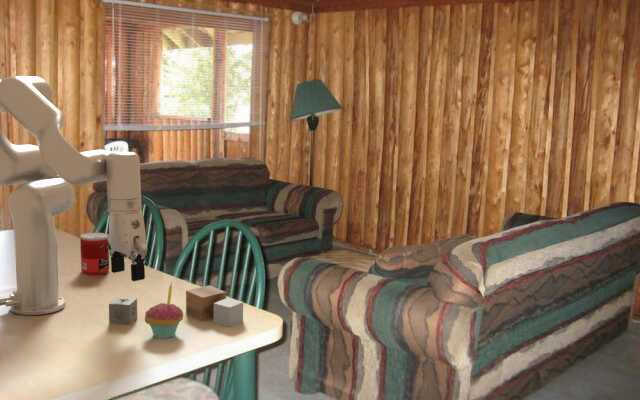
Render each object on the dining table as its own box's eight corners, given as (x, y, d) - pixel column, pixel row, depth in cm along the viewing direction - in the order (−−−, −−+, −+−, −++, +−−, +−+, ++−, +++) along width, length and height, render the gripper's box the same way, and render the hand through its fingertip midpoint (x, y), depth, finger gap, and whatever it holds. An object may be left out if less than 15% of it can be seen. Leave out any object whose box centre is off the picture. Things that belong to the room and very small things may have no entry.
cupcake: (167, 325, 164) (167, 276, 162) (191, 334, 158) (191, 284, 156) (137, 335, 157) (136, 284, 155) (160, 345, 152) (160, 292, 150)
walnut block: (202, 321, 168) (202, 297, 166) (186, 313, 172) (186, 290, 171) (225, 315, 172) (226, 292, 171) (209, 307, 177) (209, 285, 176)
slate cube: (229, 327, 164) (230, 307, 163) (213, 323, 167) (213, 303, 166) (242, 321, 168) (243, 302, 167) (226, 317, 171) (227, 297, 170)
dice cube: (137, 318, 168) (137, 298, 167) (129, 325, 163) (129, 305, 162) (117, 316, 168) (116, 297, 168) (109, 324, 164) (108, 303, 163)
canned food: (104, 276, 201) (103, 239, 199) (77, 274, 201) (76, 237, 199) (113, 268, 208) (112, 233, 206) (86, 267, 208) (85, 232, 206)
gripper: (158, 208, 159) (160, 280, 161) (121, 198, 171) (124, 266, 174) (128, 212, 154) (131, 286, 156) (92, 202, 166) (96, 271, 169)
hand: (128, 275), depth 165 cm, fingers open, 9 cm apart
